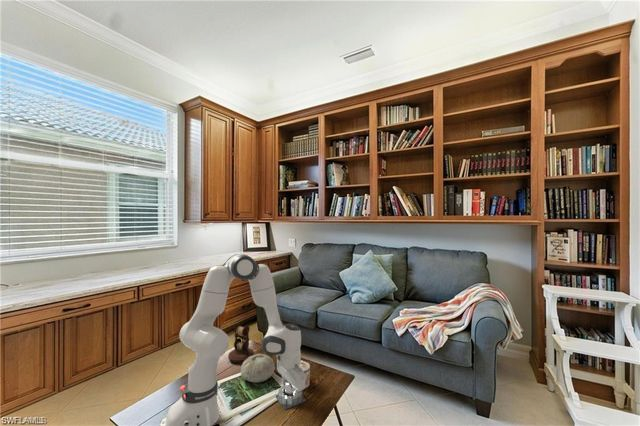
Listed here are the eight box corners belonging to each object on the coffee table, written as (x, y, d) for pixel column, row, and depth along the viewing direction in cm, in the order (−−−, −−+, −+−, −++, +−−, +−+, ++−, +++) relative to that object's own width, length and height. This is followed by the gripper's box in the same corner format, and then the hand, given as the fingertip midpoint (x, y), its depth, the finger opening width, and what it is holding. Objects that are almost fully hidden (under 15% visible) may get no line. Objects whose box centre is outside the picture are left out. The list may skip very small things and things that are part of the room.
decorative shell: (254, 392, 129) (255, 371, 129) (233, 378, 139) (233, 359, 140) (281, 375, 143) (281, 356, 143) (259, 363, 154) (260, 346, 154)
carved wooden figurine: (258, 356, 162) (259, 323, 162) (239, 367, 149) (240, 332, 150) (242, 349, 170) (243, 318, 170) (222, 359, 157) (223, 325, 157)
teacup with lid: (309, 390, 131) (309, 366, 131) (290, 389, 132) (291, 365, 132) (311, 375, 143) (311, 354, 143) (294, 374, 144) (294, 353, 144)
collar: (284, 410, 118) (284, 402, 118) (274, 395, 127) (274, 388, 127) (306, 401, 123) (306, 393, 124) (295, 388, 133) (295, 381, 133)
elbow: (299, 398, 125) (299, 383, 125) (287, 402, 122) (288, 387, 122) (293, 392, 129) (294, 377, 129) (282, 396, 126) (283, 381, 126)
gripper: (309, 368, 118) (308, 399, 118) (286, 349, 135) (285, 377, 134) (297, 372, 115) (296, 405, 114) (274, 353, 131) (273, 381, 130)
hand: (290, 390), depth 124 cm, fingers open, 8 cm apart
